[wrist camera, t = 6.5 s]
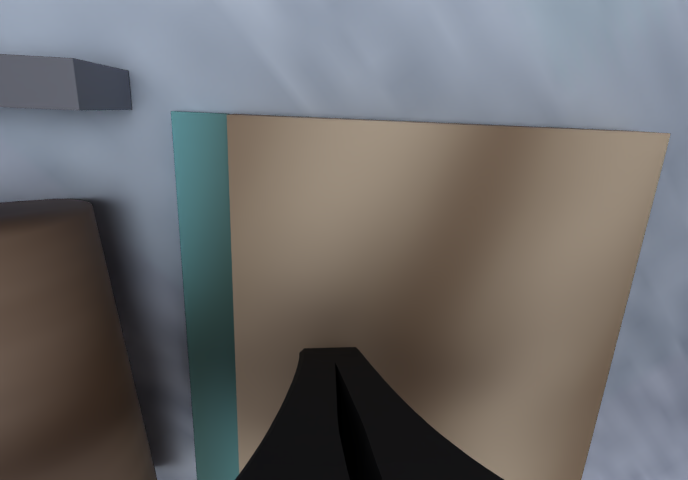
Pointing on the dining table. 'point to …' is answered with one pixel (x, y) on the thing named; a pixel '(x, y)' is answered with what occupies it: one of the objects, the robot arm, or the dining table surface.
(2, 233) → the roller
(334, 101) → the dining table surface
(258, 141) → the tan flat square slab
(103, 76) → the gray u-shaped frame
